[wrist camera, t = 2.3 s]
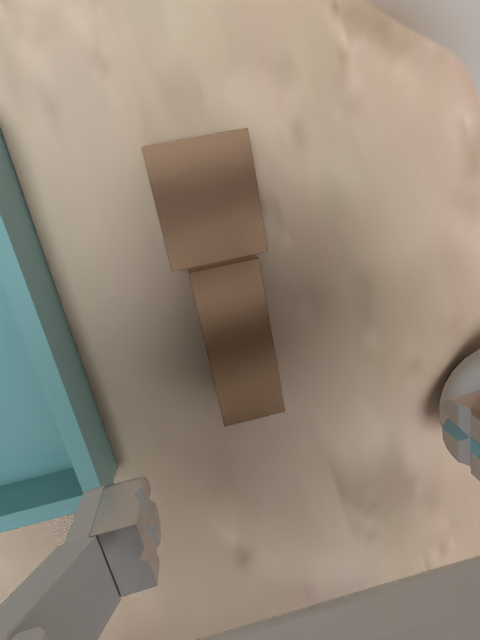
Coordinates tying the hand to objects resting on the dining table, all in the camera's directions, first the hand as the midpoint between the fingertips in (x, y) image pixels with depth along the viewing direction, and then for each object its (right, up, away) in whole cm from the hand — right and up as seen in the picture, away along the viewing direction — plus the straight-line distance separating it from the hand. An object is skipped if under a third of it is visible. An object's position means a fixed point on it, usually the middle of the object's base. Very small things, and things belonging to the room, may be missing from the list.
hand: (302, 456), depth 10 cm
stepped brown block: (-3, +6, +16) cm, 18 cm away
